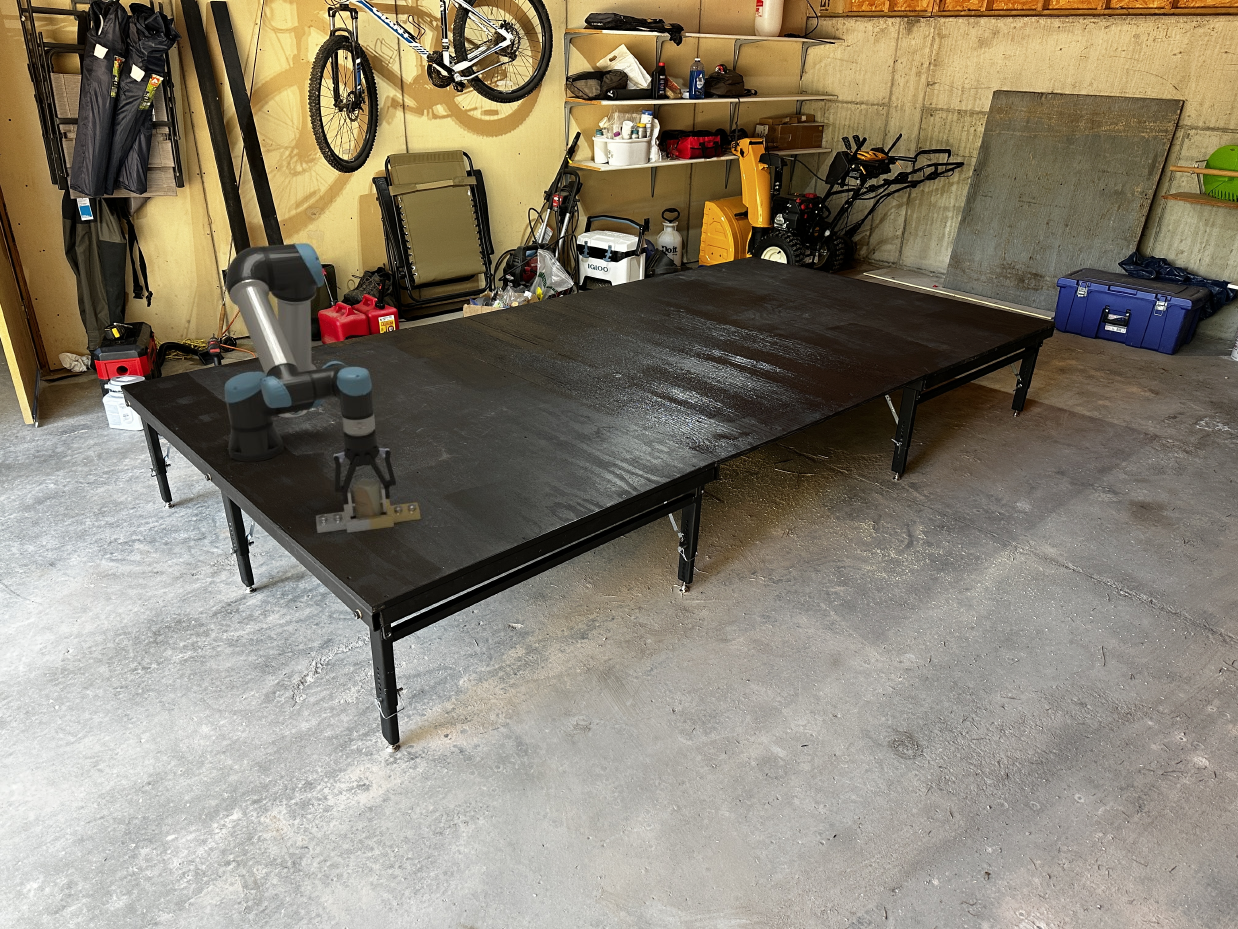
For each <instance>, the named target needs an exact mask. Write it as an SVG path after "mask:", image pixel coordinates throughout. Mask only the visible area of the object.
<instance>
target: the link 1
mask: <svg viewBox="0 0 1238 929" xmlns="http://www.w3.org/2000/svg"><path fill="white" fill-rule="evenodd" d="M352 509H353V516H352V517H356V512H355V503H352ZM315 522H316V532H317V533H318V534H321V533H329V532H336V531H341V530H343V531H345V530H346V533H350V534H351V533H355V532H362V531H364V532H365V531H370V530H372V529H371V527H370V518H369V517H366V518H358V519H356V518H351V517H350V511H349V504H343V511H340V512H332V513H323V514H316V515H315Z"/></svg>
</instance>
